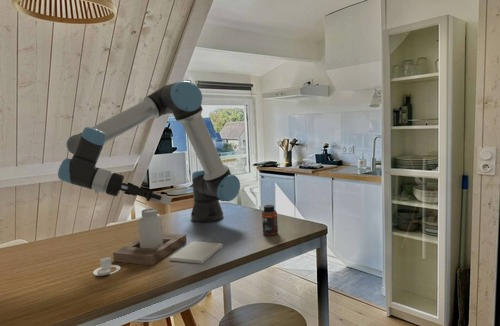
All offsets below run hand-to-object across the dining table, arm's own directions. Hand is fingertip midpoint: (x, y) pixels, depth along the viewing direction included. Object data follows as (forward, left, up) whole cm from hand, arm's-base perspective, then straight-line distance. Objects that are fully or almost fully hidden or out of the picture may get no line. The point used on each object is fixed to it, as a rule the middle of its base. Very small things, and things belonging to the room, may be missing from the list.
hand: (170, 201), depth 121 cm
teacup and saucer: (+23, -13, -19) cm, 32 cm away
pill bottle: (+3, -7, -18) cm, 20 cm away
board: (+1, +10, -18) cm, 20 cm away
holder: (+3, -7, -18) cm, 19 cm away
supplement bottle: (-24, +29, -18) cm, 42 cm away
